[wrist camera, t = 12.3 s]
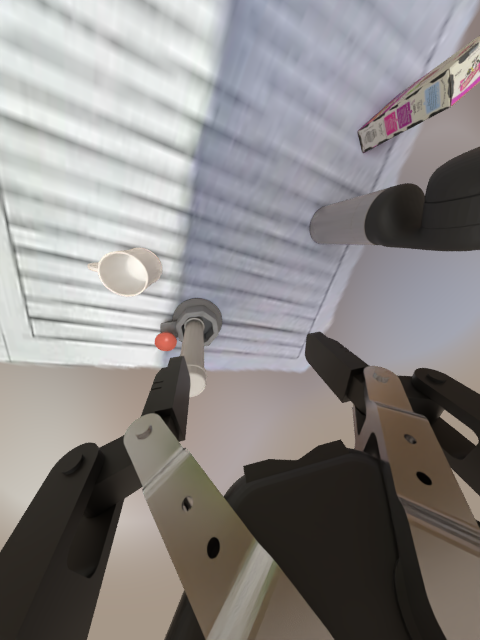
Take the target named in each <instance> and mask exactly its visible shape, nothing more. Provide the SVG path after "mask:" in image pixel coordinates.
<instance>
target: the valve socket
mask: <svg viewBox="0 0 480 640" xmlns="http://www.w3.org/2000/svg"><path fill="white" fill-rule="evenodd" d="M197 316H200V317H201V318H202V319H203V321H204V325H205V328H204V331H203V340H204V346H209V345H210V344H211V342H212V341H213V340H214V339H215V338H216V337H217V335H218V333H219V331H220V329H221V326H222V316H221V313H220V311H219V309H218V308H217V307H216V306H215V305H214V304H213V303H212V302H210V301H208V300H205V299H201V298H194V299H189V300H187V301H184V302H183V303H181V304H180V305H179V306H178V307H177V309H176V310H175V312H174V315H173V320H172V322H168V323H162V324H161V333H160V334H158V335H157V337H156V339H155V345H156V347H157V348H158V349H160V350H162V351H170V350H172V349H173V348H174V347H175V346H176V343H177V339H176V338H177V337H179V341H181V342H183V338H184V332H185V329H184V324H185V322H186V320H187V319H188V318H189V317H197Z"/></svg>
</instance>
